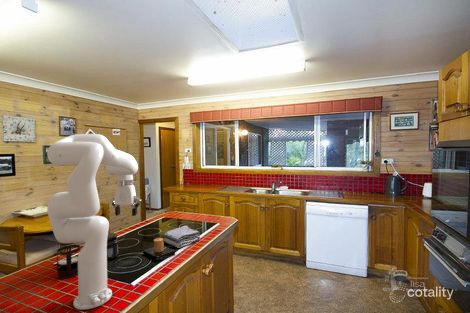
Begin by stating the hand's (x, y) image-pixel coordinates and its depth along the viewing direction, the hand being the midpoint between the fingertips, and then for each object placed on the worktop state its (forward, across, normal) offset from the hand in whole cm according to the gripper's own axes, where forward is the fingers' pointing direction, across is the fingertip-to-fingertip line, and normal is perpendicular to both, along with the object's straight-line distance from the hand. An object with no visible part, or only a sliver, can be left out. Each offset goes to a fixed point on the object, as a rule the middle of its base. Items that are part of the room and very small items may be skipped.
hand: (126, 215), depth 128 cm
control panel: (+23, +15, +6) cm, 28 cm away
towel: (+23, +21, +26) cm, 41 cm away
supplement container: (+23, -11, -1) cm, 25 cm away
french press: (+23, -16, -19) cm, 34 cm away
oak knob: (+20, +15, +6) cm, 26 cm away
